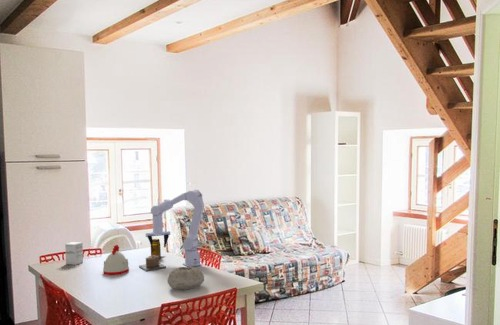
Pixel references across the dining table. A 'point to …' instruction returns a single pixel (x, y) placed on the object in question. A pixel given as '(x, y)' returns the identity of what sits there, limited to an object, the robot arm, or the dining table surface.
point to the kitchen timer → (115, 263)
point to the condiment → (156, 248)
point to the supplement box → (74, 253)
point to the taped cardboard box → (152, 261)
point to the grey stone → (185, 278)
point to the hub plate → (152, 267)
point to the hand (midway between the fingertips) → (158, 247)
